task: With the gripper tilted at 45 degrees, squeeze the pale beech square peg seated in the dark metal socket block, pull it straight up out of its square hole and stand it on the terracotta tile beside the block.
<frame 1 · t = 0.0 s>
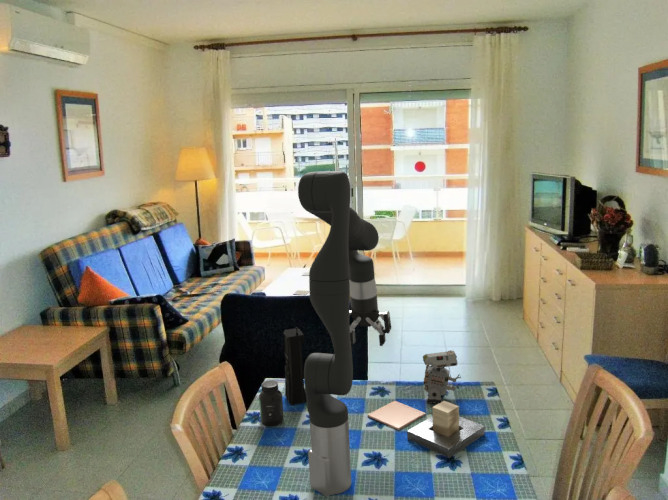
hand: (367, 343, 174), 22 cm above the table, tool pointing down, fingers open, 8 cm apart
socket block: (446, 436, 164), on the table
supplement bottle: (272, 422, 177), on the table
terracotta tile: (396, 415, 177), on the table
figurine: (441, 398, 186), on the table
beech peg: (445, 421, 163), in the socket block
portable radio: (296, 399, 191), on the table
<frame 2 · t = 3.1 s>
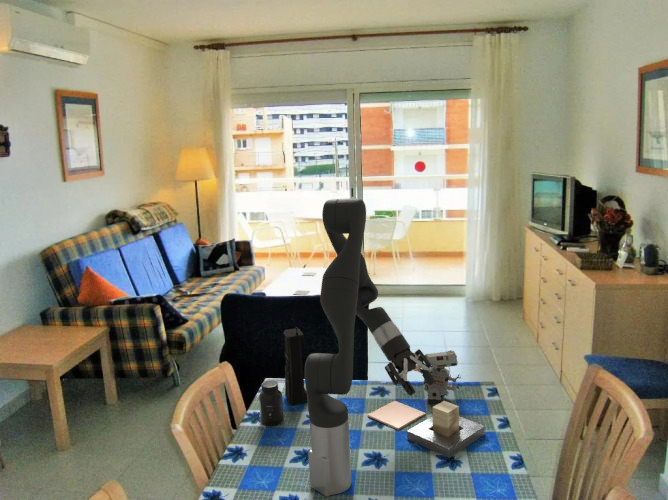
hand: (422, 389, 167), 12 cm above the table, tool tilted 45°, fingers open, 8 cm apart
nothing on the table moved.
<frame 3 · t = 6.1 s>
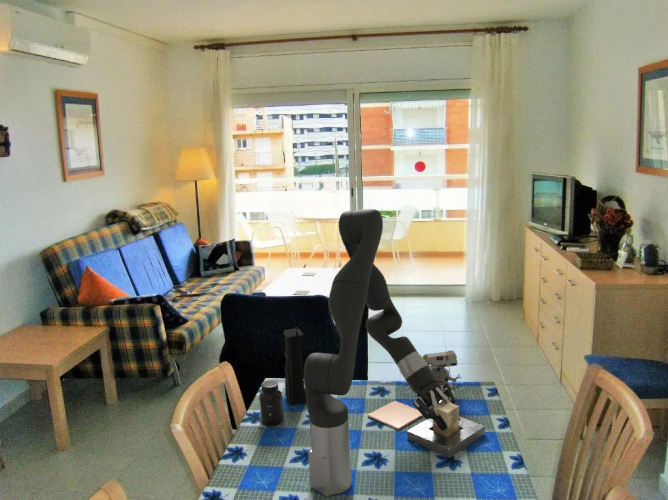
hand: (451, 425, 162), 4 cm above the table, tool tilted 45°, fingers closed on beech peg, 5 cm apart
beech peg: (445, 421, 163), in the socket block, touching gripper
everything else where it was.
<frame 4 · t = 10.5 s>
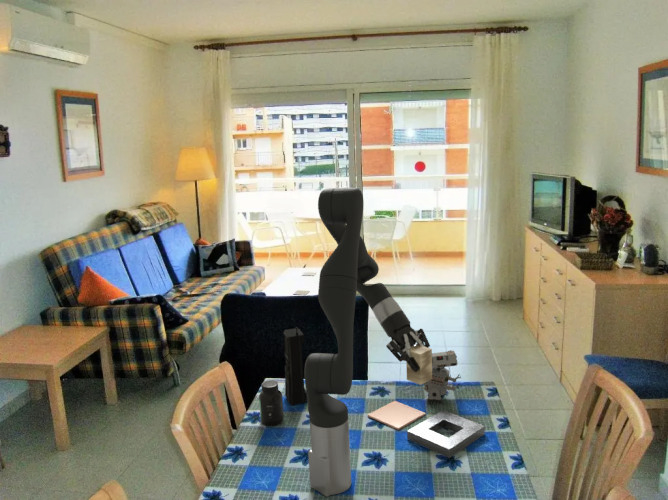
hand: (424, 367, 165), 18 cm above the table, tool tilted 45°, fingers closed on beech peg, 5 cm apart
beech peg: (419, 364, 166), point 19 cm above the table, touching gripper
everything else where it was.
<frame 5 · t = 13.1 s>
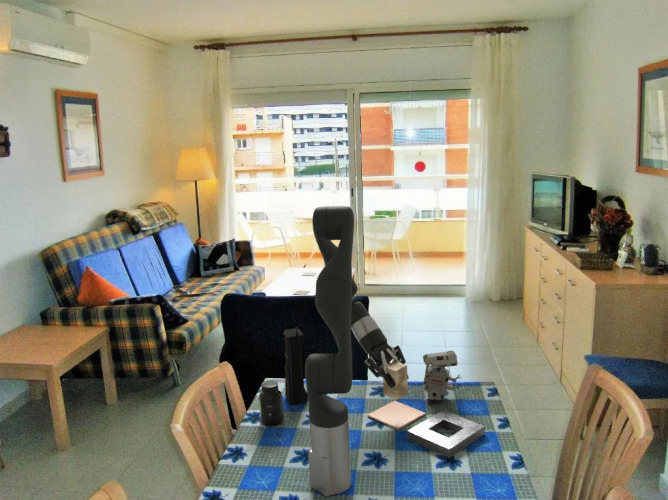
hand: (400, 382, 173), 11 cm above the table, tool tilted 45°, fingers closed on beech peg, 5 cm apart
beech peg: (395, 380, 174), point 11 cm above the table, touching gripper
everything else where it was.
when the fingers open (6 cm above the table, at t = 15.1 s): beech peg drops 1 cm, resting on terracotta tile.
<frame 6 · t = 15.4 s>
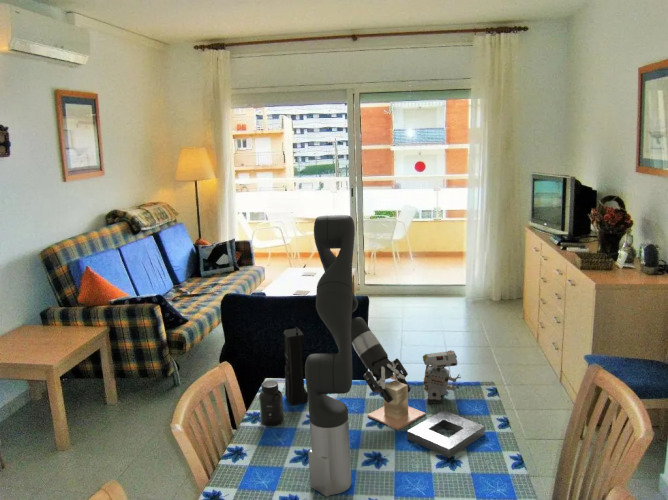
hand: (399, 396, 174), 7 cm above the table, tool tilted 45°, fingers open, 7 cm apart
beech peg: (395, 399, 176), on the terracotta tile, point 5 cm above the table
everything else where it was.
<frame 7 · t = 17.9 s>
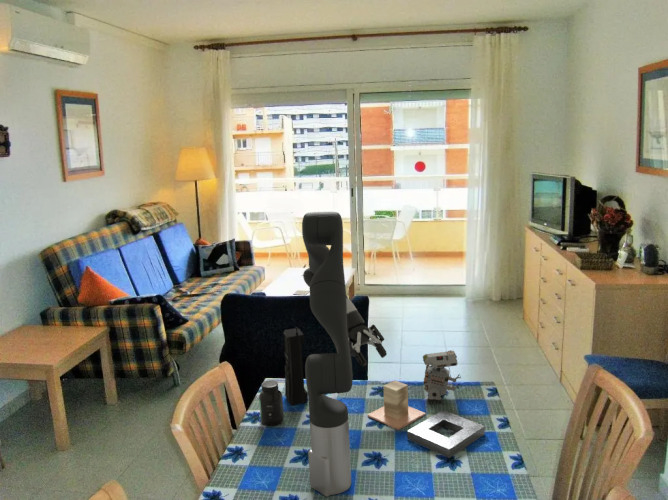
hand: (374, 360, 179), 15 cm above the table, tool tilted 45°, fingers open, 8 cm apart
nothing on the table moved.
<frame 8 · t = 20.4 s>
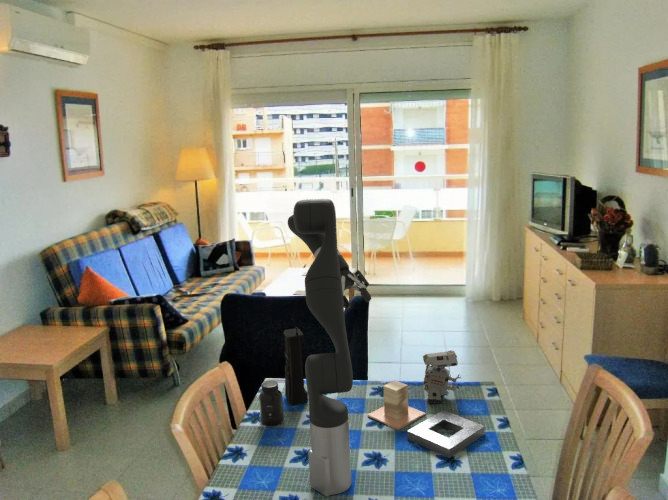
hand: (359, 304, 177), 33 cm above the table, tool tilted 45°, fingers open, 8 cm apart
nothing on the table moved.
at the end: beech peg inside the target area on the terracotta tile (0.0 cm from its centre), point 5.1 cm above the terracotta tile's base; beech peg tilted 0°; the gripper is holding nothing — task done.
